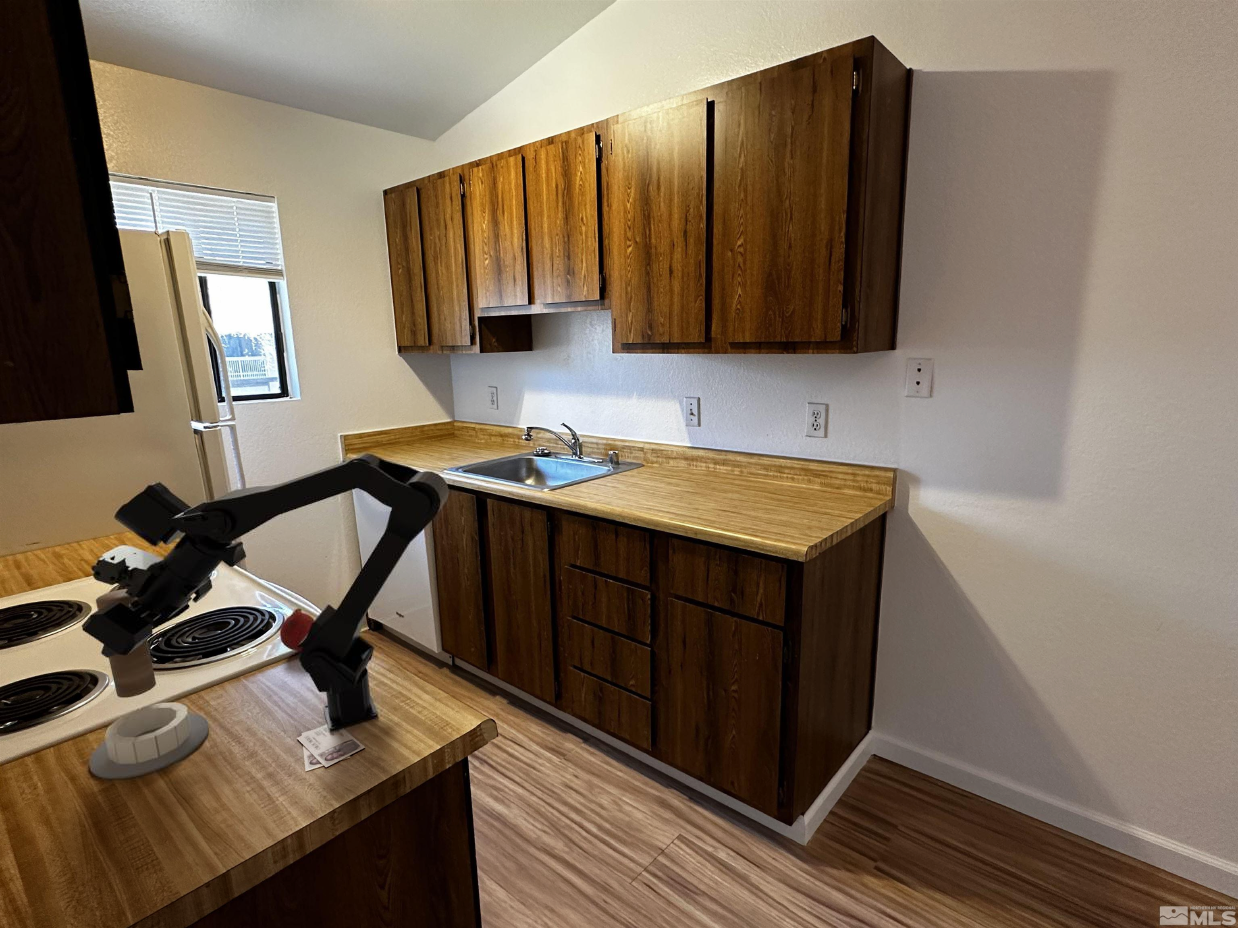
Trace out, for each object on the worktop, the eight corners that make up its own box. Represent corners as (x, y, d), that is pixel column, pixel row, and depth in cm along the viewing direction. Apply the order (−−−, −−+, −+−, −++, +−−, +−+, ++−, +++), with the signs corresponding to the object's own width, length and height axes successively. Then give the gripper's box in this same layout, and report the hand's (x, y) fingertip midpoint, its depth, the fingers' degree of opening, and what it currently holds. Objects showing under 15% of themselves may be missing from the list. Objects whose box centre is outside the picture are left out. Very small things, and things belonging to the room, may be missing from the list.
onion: (304, 661, 106) (299, 617, 104) (275, 658, 107) (269, 614, 105) (327, 644, 112) (322, 602, 110) (298, 641, 113) (293, 600, 111)
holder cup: (208, 754, 83) (204, 730, 82) (81, 793, 76) (75, 767, 75) (209, 706, 94) (205, 684, 93) (98, 736, 87) (93, 712, 86)
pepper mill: (158, 688, 88) (139, 595, 85) (118, 701, 85) (96, 605, 82) (154, 675, 91) (135, 585, 88) (115, 688, 88) (94, 595, 85)
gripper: (176, 508, 92) (112, 583, 94) (82, 553, 74) (4, 644, 76) (241, 556, 95) (177, 628, 96) (164, 610, 77) (87, 698, 78)
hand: (117, 646), depth 86 cm, fingers closed on pepper mill, 4 cm apart
